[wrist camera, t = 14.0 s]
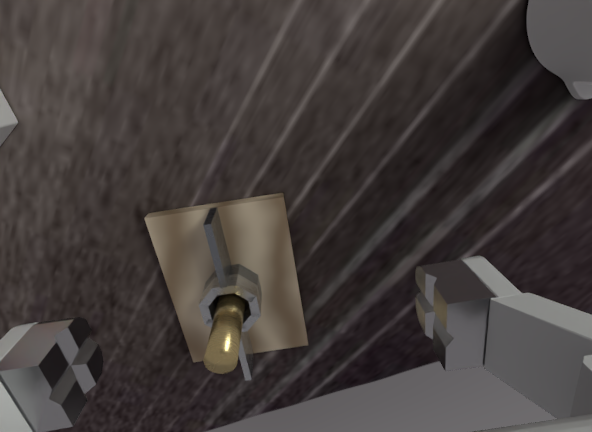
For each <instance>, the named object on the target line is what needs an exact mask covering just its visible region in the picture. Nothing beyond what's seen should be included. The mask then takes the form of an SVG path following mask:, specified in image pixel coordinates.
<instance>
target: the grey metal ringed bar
mask: <svg viewBox="0 0 592 432" xmlns="http://www.w3.org/2000/svg"><path fill="white" fill-rule="evenodd" d="M203 226H204V230H205V233H206V237H207V241H208V245H209V248H210V252H211V256H212V259H213V263H214V267H215V271H214V272H213V273H212V275H211V276H210V277H209V279H208V280H207V281H206V283H205V286H204V289H203V293H202V296H201V299H200V303H199V308H200V311H201V315H202V318H203V321H204V324H205V325H207V326H209V327H211V328H212V323H213V319H214V315H215V311H216V307H217V303H218V299H219V297H218V296H217V295H223V294H230V293H235V294H237V295H239V296H241V297H242V298H244V299H246V302H245V310H244V317H243V325H242V332H241V339H240V347H239V354H238V355H239V358H240V362H241V366H242V370H243V373H244V377H245V381H247V380H252V370H253V355H254V353H253V349H252V345H251V341H250V337H249V333H248V330H249V329H250V328H251V327H252V325H253V324H254V323H255V322H256V321H257V320H258V318H259V317H260V316H261V300H262V291H261V286H260V282H259V277H258V274H256V273H254V272H252V271H251V270H249V269H247V268H246V267H244V266H242V265H241V264H235V265H231V261H230V257H229V253H228V249H227V245H226V241H225V237H224V233H223V229H222V225H221V221H220V217H219V212H218V208H217V207H216V208H210V210H209V213H208V215H207V217H206V220H205V222H204V224H203Z"/></svg>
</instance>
